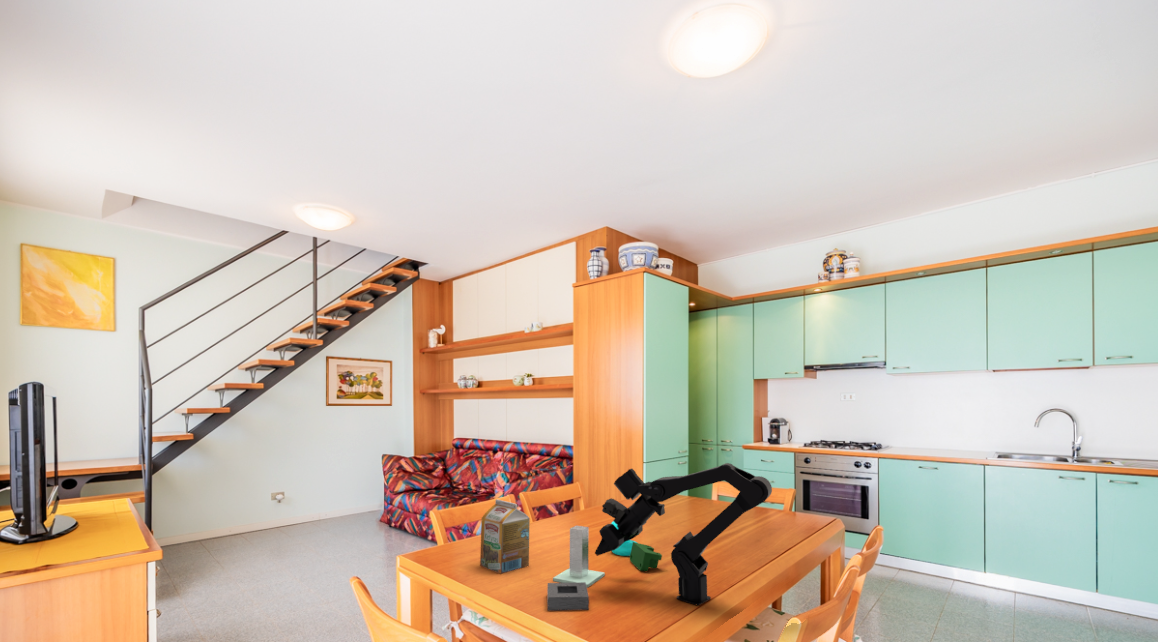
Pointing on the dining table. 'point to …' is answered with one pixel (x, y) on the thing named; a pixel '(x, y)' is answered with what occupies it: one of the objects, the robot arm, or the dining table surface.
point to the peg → (579, 551)
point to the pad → (589, 579)
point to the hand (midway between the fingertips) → (603, 550)
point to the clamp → (644, 556)
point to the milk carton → (504, 538)
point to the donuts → (623, 546)
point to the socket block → (567, 596)
